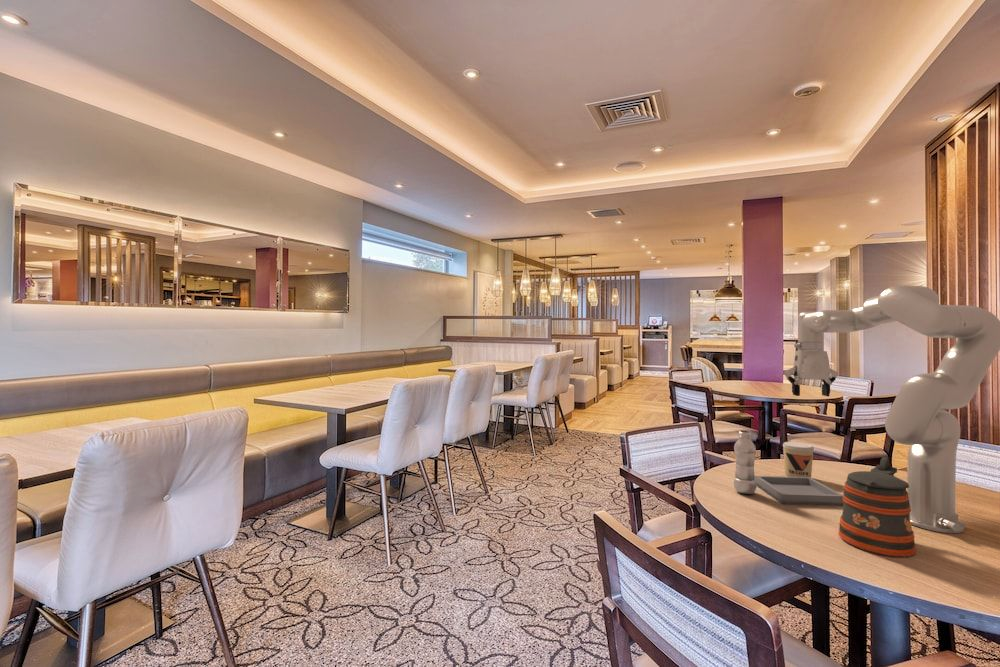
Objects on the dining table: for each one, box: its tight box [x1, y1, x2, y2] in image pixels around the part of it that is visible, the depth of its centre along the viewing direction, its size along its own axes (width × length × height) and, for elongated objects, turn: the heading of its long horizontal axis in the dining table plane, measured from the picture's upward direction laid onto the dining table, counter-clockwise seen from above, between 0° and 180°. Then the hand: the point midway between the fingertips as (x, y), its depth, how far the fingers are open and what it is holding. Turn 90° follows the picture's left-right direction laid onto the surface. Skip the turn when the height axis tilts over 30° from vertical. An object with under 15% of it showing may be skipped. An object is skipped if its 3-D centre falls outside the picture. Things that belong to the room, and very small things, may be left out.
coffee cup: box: [782, 441, 815, 478], centre depth 162 cm, size 9×9×12 cm
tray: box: [755, 475, 844, 507], centre depth 145 cm, size 18×18×3 cm
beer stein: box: [838, 455, 916, 558], centre depth 113 cm, size 19×15×20 cm
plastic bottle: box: [733, 430, 757, 495], centre depth 147 cm, size 6×7×20 cm
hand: (810, 395), depth 158 cm, fingers open, 9 cm apart
